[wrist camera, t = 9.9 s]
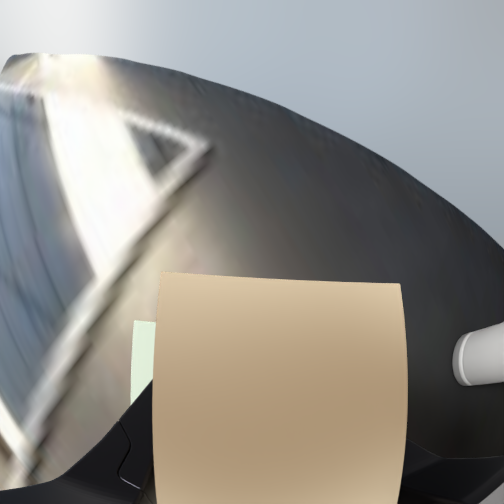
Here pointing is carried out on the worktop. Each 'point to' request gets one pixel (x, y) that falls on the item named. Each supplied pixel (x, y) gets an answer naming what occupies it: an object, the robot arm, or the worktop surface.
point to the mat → (142, 356)
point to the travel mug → (480, 357)
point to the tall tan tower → (278, 391)
